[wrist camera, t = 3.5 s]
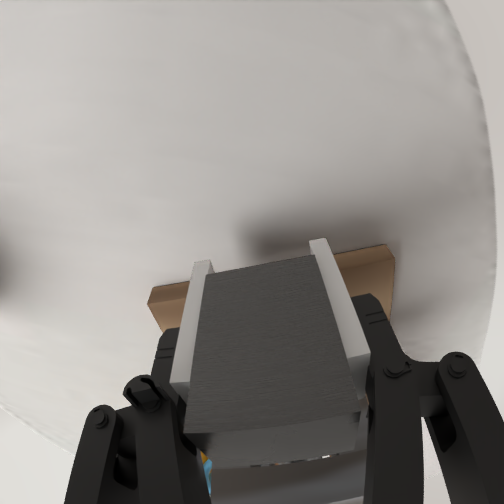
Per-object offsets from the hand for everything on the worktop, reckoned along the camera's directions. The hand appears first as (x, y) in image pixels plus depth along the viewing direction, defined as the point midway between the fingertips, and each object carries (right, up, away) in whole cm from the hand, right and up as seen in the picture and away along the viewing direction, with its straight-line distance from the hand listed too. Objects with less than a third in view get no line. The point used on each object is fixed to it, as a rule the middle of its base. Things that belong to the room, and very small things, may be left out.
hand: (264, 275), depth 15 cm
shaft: (+2, -9, +4) cm, 10 cm away
